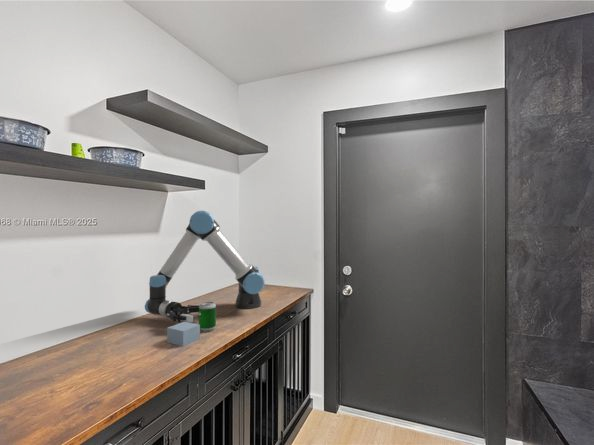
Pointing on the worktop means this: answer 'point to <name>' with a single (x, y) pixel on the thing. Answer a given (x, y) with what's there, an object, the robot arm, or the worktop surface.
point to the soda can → (207, 316)
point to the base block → (183, 333)
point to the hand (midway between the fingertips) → (203, 315)
